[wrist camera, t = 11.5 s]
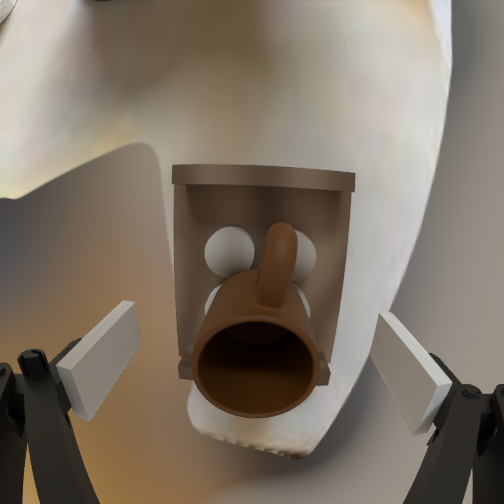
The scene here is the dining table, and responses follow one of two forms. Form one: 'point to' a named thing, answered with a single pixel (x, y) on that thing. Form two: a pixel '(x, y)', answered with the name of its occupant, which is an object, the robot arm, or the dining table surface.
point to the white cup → (6, 8)
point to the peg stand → (258, 240)
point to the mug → (258, 337)
